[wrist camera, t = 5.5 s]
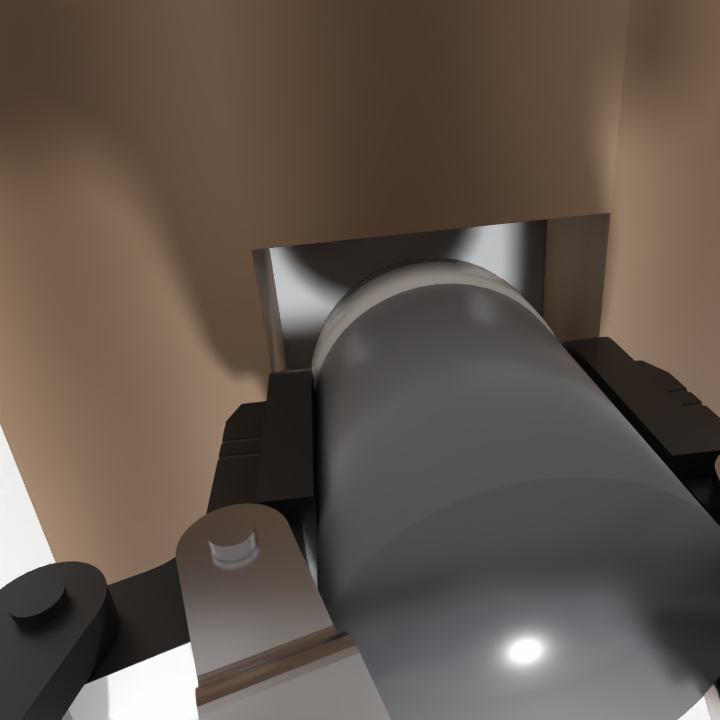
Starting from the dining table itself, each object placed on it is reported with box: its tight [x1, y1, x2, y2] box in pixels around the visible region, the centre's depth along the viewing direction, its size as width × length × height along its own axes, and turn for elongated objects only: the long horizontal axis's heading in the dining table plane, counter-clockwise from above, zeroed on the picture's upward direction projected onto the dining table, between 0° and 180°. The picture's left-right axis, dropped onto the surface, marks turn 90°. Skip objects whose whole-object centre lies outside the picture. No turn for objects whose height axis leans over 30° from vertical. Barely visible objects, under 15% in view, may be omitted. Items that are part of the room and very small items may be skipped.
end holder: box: [0, 0, 720, 585], centre depth 13 cm, size 16×16×3 cm
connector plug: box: [311, 258, 720, 720], centre depth 9 cm, size 4×4×6 cm
